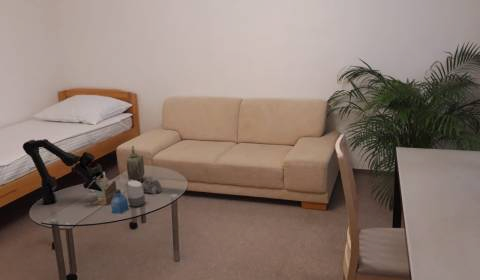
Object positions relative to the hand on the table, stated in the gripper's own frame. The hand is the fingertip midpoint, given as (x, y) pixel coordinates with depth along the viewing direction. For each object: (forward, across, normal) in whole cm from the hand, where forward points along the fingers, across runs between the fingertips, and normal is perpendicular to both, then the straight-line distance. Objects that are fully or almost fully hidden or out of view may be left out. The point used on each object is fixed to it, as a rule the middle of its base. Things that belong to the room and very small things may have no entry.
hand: (104, 188), depth 254 cm
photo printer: (-3, +19, +14) cm, 24 cm away
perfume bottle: (+16, -16, -4) cm, 23 cm away
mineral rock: (+22, +13, -11) cm, 28 cm away
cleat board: (+5, 0, +6) cm, 8 cm away
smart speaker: (+21, -8, -9) cm, 24 cm away
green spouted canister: (+12, +32, -1) cm, 34 cm away
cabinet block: (+4, 0, +6) cm, 7 cm away
